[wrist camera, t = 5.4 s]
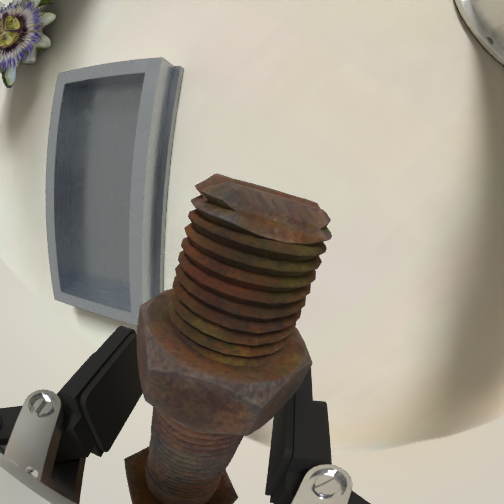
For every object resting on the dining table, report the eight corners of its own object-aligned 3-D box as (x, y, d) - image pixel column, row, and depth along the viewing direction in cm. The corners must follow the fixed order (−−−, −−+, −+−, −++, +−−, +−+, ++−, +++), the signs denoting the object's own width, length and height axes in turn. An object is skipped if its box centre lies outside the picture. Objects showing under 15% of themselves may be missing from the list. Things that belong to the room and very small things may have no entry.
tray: (183, 68, 20) (169, 56, 17) (163, 311, 27) (149, 329, 24) (75, 80, 21) (54, 74, 18) (69, 286, 28) (51, 298, 25)
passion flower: (74, 53, 25) (15, 94, 18) (18, 61, 23) (-38, 104, 16) (77, -24, 16) (7, -6, 9) (15, -6, 14) (-50, 24, 7)
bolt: (296, 188, 10) (206, 446, 14) (149, 152, 8) (121, 449, 12) (436, 256, 5) (241, 527, 9) (175, 194, 3) (142, 540, 7)
